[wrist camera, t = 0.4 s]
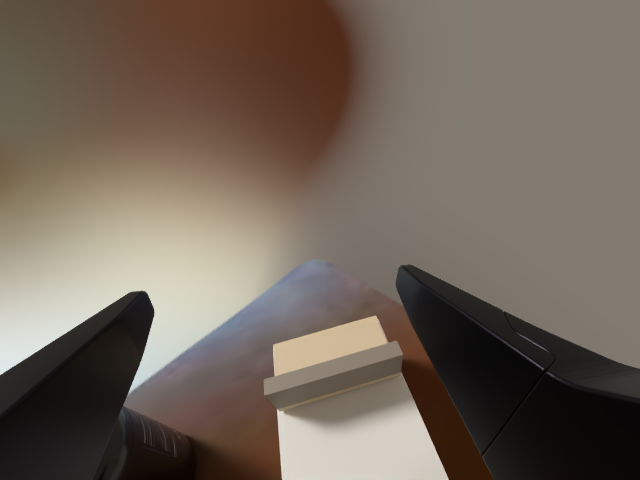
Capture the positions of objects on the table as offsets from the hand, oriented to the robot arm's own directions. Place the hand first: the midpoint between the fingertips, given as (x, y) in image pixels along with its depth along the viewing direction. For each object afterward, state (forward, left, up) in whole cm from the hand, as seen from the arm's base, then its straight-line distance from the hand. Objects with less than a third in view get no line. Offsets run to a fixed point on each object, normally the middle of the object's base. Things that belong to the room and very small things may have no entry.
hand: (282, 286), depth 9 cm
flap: (+1, -1, -10) cm, 10 cm away
